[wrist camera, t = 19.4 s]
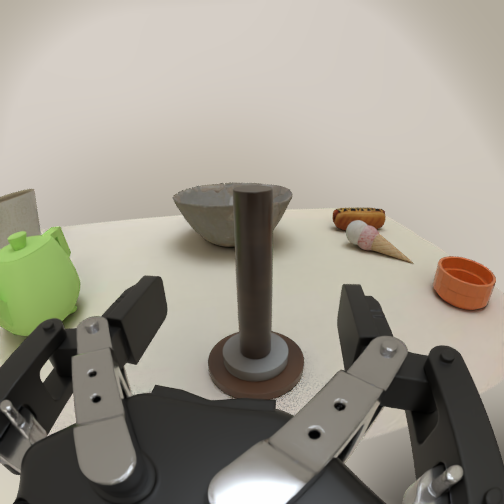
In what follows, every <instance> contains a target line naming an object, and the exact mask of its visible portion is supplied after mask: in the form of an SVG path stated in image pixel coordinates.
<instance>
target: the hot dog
mask: <svg viewBox="0 0 504 504" xmlns="http://www.w3.org/2000/svg"><path fill="white" fill-rule="evenodd" d="M356 220H360V221H363V222H365V223H366V224H367V225H369V226H373V227H375V228H376V229H378V228H380V227H382V226H383V225H384V222H385V211H384V210H382V209H375V208H340V209H336V210H334V212H333V222H334V224H335V225H336V227H338V228H340V229H342V230H346V229H347V227H348V225H349V224H350V223H351V222H353V221H356Z"/></svg>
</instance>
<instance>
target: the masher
mask: <svg viewBox="0 0 504 504" xmlns="http://www.w3.org/2000/svg"><path fill="white" fill-rule="evenodd" d="M233 214H234V238H235V261H236V282H237V302H238V320H239V333H238V334H236V335H234V336H232V337H231V338H230V339H228V341H227V342H226V343H225V345H224V347H223V360H224V365H225V367H226V369H227V370H228V371H229V372H230V373H231V374H232V375H233V376H235V377H237V378H239V379H242V380H246V381H254V382H257V381H265V380H269V379H271V378H274V377H276V376H277V375H279V374H280V373H281V372H282V371H283V370H284V369H285V367H286V365H287V362H288V346H287V344H286V342H285V341H284V340H283V339H282V338H281V337H280V336H278V335H276V334H274V333H272V332H271V327H272V271H273V188H271V187H268V186H262V185H247V186H239V187H236V188H234V189H233Z"/></svg>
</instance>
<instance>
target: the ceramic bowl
mask: <svg viewBox="0 0 504 504" xmlns="http://www.w3.org/2000/svg"><path fill="white" fill-rule="evenodd" d="M247 185H262V186H268V187H271V188H273V230H274V228H275V227H276V225H277V224H278V222H279V221H280V219H281V218H282V216H283V214H284V212H285V210H286V208H287V206H288V204H289V202H290V200H291V198H292V192H291V191H290V190H289V189H287V188H285V187H282V186H277V185H268V184H267V185H266V184H259V183H258V184H257V183H225V185H224V184H223V183H220V184H213V185H203V186H197V187H194V188H192V189H191V188H189V189H186V190H185V191H183V190H182V191H181V192H179V193H178V194H175V195H174V197H173V199H174V202H175V204H176V206H177V207H178V208H179V210H180V212H181V213H182V215H183V216H184V218H185V219H186V220H187V222H188V223H189V224H190V225H191V227H192V228H193V229H194V230H195V231H196V232H197V233H198V234H200V235H201V236H202V237H203V238H204V239H205V240H207V241H209V242H210V243H213V244H216V245H219V246H226V247H232V246H235V238H234V214H233V189H234V188H236V187H239V186H247Z"/></svg>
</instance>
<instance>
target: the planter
mask: <svg viewBox="0 0 504 504" xmlns="http://www.w3.org/2000/svg"><path fill="white" fill-rule="evenodd" d="M21 231H25V232H26V237H29V236H37V235H41V232H40V225H39V219H38V212H37V206H36V198H35V192H34V189H27V190H23V191H18V192H15V193H11V194H8V195H5V196H2V197H0V249H2V248H3V247H5V246H7V245H9V244H10V243H9V242H8V239H7V238H8V237H9V236H10V235H12V234H14V233H17V232H21Z"/></svg>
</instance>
